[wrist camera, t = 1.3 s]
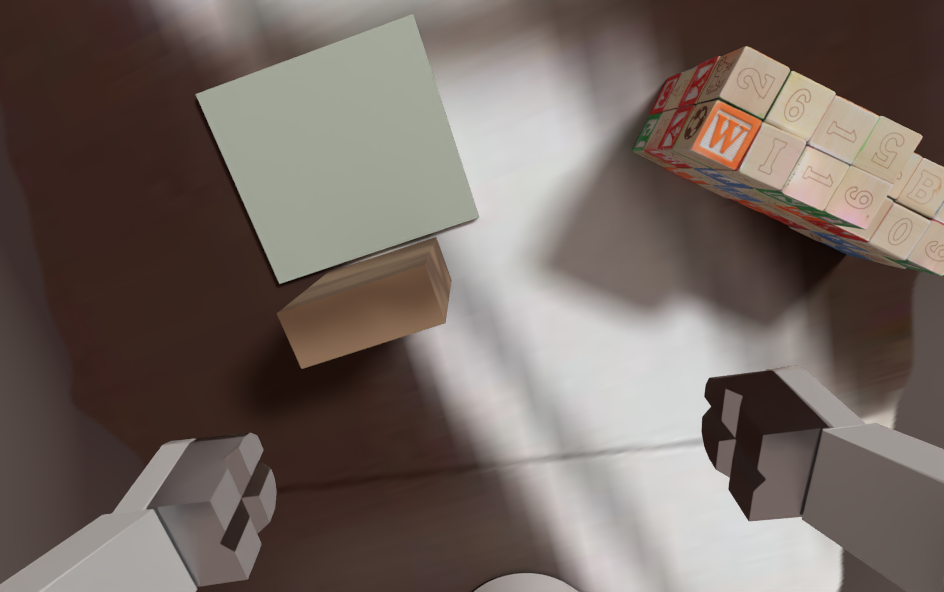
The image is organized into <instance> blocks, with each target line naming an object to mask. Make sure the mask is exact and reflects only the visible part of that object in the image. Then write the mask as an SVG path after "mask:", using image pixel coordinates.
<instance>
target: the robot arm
mask: <svg viewBox="0 0 944 592" xmlns="http://www.w3.org/2000/svg"><path fill="white" fill-rule="evenodd" d="M704 397H705V398H706V400H707V401H708V402H709V404H710V405H711V407H710V409H709V410H708V411H707V412H706V413H705V414H704V415H703V417H702V437H703V442H704V447H705V450H706V452H707V454H708V457H709V459H710V461H711V462H712V464H713V466H714V467H715V469H716V470H718V471H719V472H721V473H723V474H725V475H726V476H728V477H730V481H729V489H728V490H729V491H730V493H731V494H732V496H733V497H734V499H735V500H736V502H737V504H738V505H739V507H740V508H741V510H742V511H743V513H744V514H745V516H746V518H747V519H748V521H759V520H770V519H781V518H793V517H802V520H804V521H805V522H807V523H808V524H810V525H811V526H812V527H814V528H815V529H817V530H818V531H820V532H821V533H823V534H824V535H825V536H827V537H828V538H830V539H831V540H833V541H834V542H836V543H837V544H838V545H840V546H841V547H843V548H844V549H846V550H847V551H849V552H850V553H852V554H853V555H854V556H856V557H857V558H859V559H860V560H862V561H863V562H865V563H866V564H868V565H869V566H870V567H872V568H873V569H875V570H876V571H878V572H879V573H881V574H882V575H883V576H885V577H886V578H888V579H889V580H891V581H892V582H893V583H895V584H896V585H898V586H899V587H901V588H902V589H904V590H905V591H907V592H944V449H941V448H939V447H936V446H934V445H931V444H929V443H926V442H923V441H921V440H918V439H916V438H913V437H911V436H908V435H905V434H903V433H900V432H898V431H895V430H892V429H890V428H887V427H885V426H882V425H880V424H877V423H873V424H865V423H864V422H863V421H862V420H861V419H860V418H859V417H858V416H857V415H855V414H854V413H853V412H852V411H851V410H850V409H849V408H848V407H846V406H845V405H844V404H843V403H842V402H841V401H840V400H839V399H838V398H836V397H835V396H834V395H833V394H832V393H831V392H830V391H829V390H827V389H826V388H825V387H824V386H823V385H822V384H821V383H820V382H819V381H817V380H816V379H815V378H814V377H813V376H812V375H811V374H810V373H808V372H807V371H806V370H805V369H804V368H802V367H799V366H796V365H795V366H788V367H781V368H774V369H767V370H766V371H759V372H751V373H743V374H735V375H727V376H719V377H711V378H709V379H708V381H707V383H706V387H705V396H704ZM262 452H263V448H262V445H261V443H260V441H259V439H258V436H257V435H254V434H252V433H244V434H234V435H224V436H213V437H203V438H197V439H186V440H177V441H170V442H168V443H166V444H164V445H162V446H161V448H160V449H159V450H158V452H157V453H156V454H155V456H154V457H153V458H152V460H151V461H150V463H149V464H148V465H147V467H146V468H145V469H144V471H143V472H142V474H141V475H140V476H139V478H138V479H137V480H136V482H135V483H134V484H133V486H132V487H131V488H130V490H129V491H128V492H127V494H126V495H125V497H124V498H123V499H122V501H121V502H120V503H119V505H118V506H117V508H116V509H115V510H114V512H113V513H112V514H106V515H102V516H100V517H99V518H97V519H96V520H94V521H93V522H91V523H90V524H89V525H87V526H86V527H84V528H83V529H81V530H80V531H79V532H77V533H75V534H74V535H72V536H71V537H69V538H68V539H67V540H65V541H64V542H62V543H61V544H59V545H58V546H56V547H55V548H53V549H52V550H50V551H49V552H47V553H46V554H45V555H43V556H42V557H40V558H38V559H37V560H36V561H34V562H33V563H31V564H30V565H28V566H27V567H25V568H24V569H22V570H21V571H19V572H18V573H16V574H15V575H13V576H12V577H11V578H9V579H8V580H6V581H5V582H3V583H2V584H0V592H196V591H197V587H199V586H206V585H213V584H220V583H226V582H233V581H240V580H247V579H248V577H249V575H250V572H251V570H252V567H253V564H254V562H255V559H256V557H257V554H258V552H259V549H260V546H261V542H260V540H259V537H258V535H257V533H258V532H260V531H261V530H262V529H263V528H264V527H265V526H266V525H267V524H268V523H269V522H270V520H271V517H272V514H273V512H274V509H275V500H276V485H275V479H274V476H273V473H272V471H271V468H269V467H268V466H267V465H265V464H264V463H262V462H261V461H259V458H260V456H261V454H262ZM474 592H579V591H577V590H575V589H574V588H572V587H571V586H569V585H568V584H566V583H564V582H562V581H560V580H558V579H555V578H553V577H550V576H546V575H541V574H533V573H520V574H512V575H507V576H503V577H499V578H497V579H494V580H492V581H489V582H488V583H486V584H484V585H482V586H481V587H479V588H478V589H477V590H475V591H474Z"/></svg>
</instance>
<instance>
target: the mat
mask: <svg viewBox="0 0 944 592" xmlns="http://www.w3.org/2000/svg"><path fill="white" fill-rule="evenodd" d="M196 96H197V99H198V101H199V103H200V105H201V108H202V110H203V112H204V114H205V117H206V119H207V121H208V123H209V126H210V128H211V130H212V133H213V135H214V137H215V139H216V142H217V144H218V146H219V148H220V151H221V153H222V155H223V157H224V160H225V162H226V164H227V166H228V169H229V171H230V173H231V176H232V178H233V180H234V182H235V185H236V187H237V189H238V191H239V194H240V196H241V198H242V200H243V203H244V205H245V207H246V209H247V212H248V214H249V216H250V219H251V221H252V223H253V225H254V228H255V230H256V232H257V234H258V237H259V239H260V241H261V243H262V246H263V248H264V250H265V252H266V255H267V257H268V259H269V262H270V264H271V266H272V268H273V271H274V273H275V275H276V277H277V280H278V282H279V284H281V283H284V282H287V281H290V280H293V279H296V278H299V277H302V276H305V275H308V274H311V273H314V272H317V271H320V270H323V269H326V268H329V267H332V266H335V265H338V264H341V263H344V262H347V261H350V260H353V259H356V258H359V257H362V256H365V255H368V254H371V253H374V252H377V251H380V250H383V249H386V248H389V247H392V246H395V245H398V244H401V243H404V242H407V241H410V240H413V239H416V238H419V237H422V236H425V235H428V234H431V233H434V232H437V231H440V230H443V229H446V228H449V227H452V226H455V225H458V224H461V223H464V222H467V221H470V220H473V219H475V218H478V217H479V215H478V211H477V208H476V205H475V202H474V199H473V196H472V193H471V190H470V187H469V184H468V181H467V178H466V175H465V172H464V169H463V165H462V162H461V159H460V156H459V153H458V150H457V147H456V144H455V141H454V138H453V135H452V132H451V129H450V126H449V122H448V119H447V116H446V113H445V110H444V107H443V104H442V101H441V98H440V95H439V92H438V89H437V86H436V83H435V80H434V76H433V73H432V70H431V67H430V64H429V61H428V58H427V55H426V52H425V49H424V46H423V43H422V40H421V37H420V33H419V30H418V27H417V24H416V21H415V18H414V15H413V14H412V15H409V16H406V17H404V18H401V19H398V20H396V21H393V22H390V23H387V24H385V25H382V26H379V27H377V28H374V29H371V30H369V31H366V32H363V33H360V34H358V35H355V36H352V37H350V38H347V39H344V40H341V41H339V42H336V43H333V44H331V45H328V46H325V47H323V48H320V49H317V50H314V51H312V52H309V53H306V54H304V55H301V56H298V57H295V58H293V59H290V60H287V61H285V62H282V63H279V64H276V65H274V66H271V67H268V68H266V69H263V70H260V71H258V72H255V73H252V74H249V75H247V76H244V77H241V78H239V79H236V80H233V81H230V82H228V83H225V84H222V85H220V86H217V87H214V88H212V89H209V90H206V91H203V92H201V93H198V94H196Z"/></svg>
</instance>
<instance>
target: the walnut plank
mask: <svg viewBox="0 0 944 592" xmlns="http://www.w3.org/2000/svg"><path fill="white" fill-rule="evenodd" d="M450 287H451V278H450V275H449V272H448V269H447V266H446V263H445V261H444V258H443V255H442V252H441V249H440V246H439V243H438V241H437V238H436V237H435V238H432V239H429V240H426V241H423V242H420V243H417V244H414V245H411V246H408V247H404V248H401V249H398V250H395V251H392V252H389V253H386V254H383V255H380V256H377V257H374V258H371V259H368V260H365V261H362V262H359V263H356V264H353V265H350V266H347V267H344V268H341V269H338V270H335V271H332V272H329V273H327V274H326V275H324V276H323V277H322V278H321V279H319V280H318V281H317V282H316V283H314V284H313V285H312V286H311V287H309V288H308V289H307V290H306V291H304V292H303V293H302V294H301V295H299V296H298V297H297V298H296V299H294V300H293V301H292V302H291V303H289V304H288V305H287V306H286V307H284V308H283V309H282V310H281V311H279V312H278V313H277V315H278V318H279V320H280V322H281V324H282V327H283V329H284V331H285V333H286V335H287V338H288V340H289V342H290V344H291V347H292V349H293V351H294V353H295V355H296V358H297V360H298V362H299V364H300V367H301V369H303V368H306V367H309V366H312V365H316V364H319V363H322V362H325V361H328V360H331V359H334V358H337V357H341V356H344V355H347V354H350V353H353V352H356V351H359V350H363V349H366V348H369V347H372V346H375V345H378V344H381V343H384V342H388V341H391V340H394V339H397V338H400V337H403V336H406V335H410V334H413V333H416V332H419V331H422V330H425V329H428V328H431V327H435V326H438V325H441V324H444V323H445V322H446V315H447V308H448V301H449V294H450Z"/></svg>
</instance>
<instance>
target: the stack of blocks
mask: <svg viewBox="0 0 944 592" xmlns="http://www.w3.org/2000/svg"><path fill="white" fill-rule="evenodd" d="M922 138H923V137H922V135H920V134H918V133H916V132H914V131H912V130H910V129H908V128H906V127H903V126H901V125H899V124H897V123H895V122H893V121H891V120H889V119H887V118H885V117H883V116H878V115H876V114H874V113H872V112H870V111H868V110H866V109H864V108H862V107H860V106H858V105H856V104H854V103H852V102H850V101H848V100H846V99H844V98H842V97H839V96H836V94H835V92H834V91H832V90H830V89H828V88H826V87H824V86H822V85H820V84H818V83H816V82H814V81H812V80H810V79H808V78H806V77H804V76H802V75H800V74H798V73H796V72H794V71H790V69H789V68H788V67H787V66H785V65H783V64H781V63H779V62H777V61H775V60H773V59H771V58H770V57H768V56H766V55H764V54H762V53H760V52H758V51H756V50H754V49H752V48H750V47H747V46H746V47H742V48H740V49H737V50H735V51H733V52H731V53H728V54H726V55H724V56H722V57H720V56H717V57H715V58H712V59H710V60H708V61H705V62H703V63H701V64H699V65H698V66H696V67H694V68H692V69H690V70H687V71H685V72H682V73H679V74H676V75H674V76H672V77H669V78H668V79H667V80H666V83H665V85H664V87H663V89H662V90H661V92H660V94H659V96H658V98H657V100H656V103H655V104H654V106H653V109H652V110H651V112H650V116H649V118H648V120H647V122H646V124H645V126H644V128H643V130H642V131H641V133H640V135H639V137H638V139H637V141H636V143H635V145H634V147H633V149H632V152H634V153H636V154H638V155H640V156H642V157H644V158H646V159H648V160H650V161H652V162H654V163H656V164H658V165H660V166H663V168H664V169H666V170H668V171H671V172H673V173H675V174H677V175H679V176H681V177H683V178H685V179H687V180H689V181H691V182H693V183H696V184H697V185H699V186H701V187H703V188H705V189H707V190H709V191H712V192H714V193H716V194H718V195H720V196H722V197H724V198H730V199H732V200H734V201H736V202H738V203H740V204H742V205H744V206H747V207H749V208H751V209H753V210H755V211H758V212H761V213H763V214H765V215H767V216H769V217H771V218H773V219H776V220H778V221H780V222H782V223H784V224H786V225H788V226H789V228H791V229H793V230H795V231H797V232H799V233H801V234H803V235H805V236H807V237H810V238H812V239H814V240H816V241H818V242H821V243H823V244H825V245H828V246H830V247H832V248H834V249H836V250H838V251H840V252H842V253H845V254H847V255H850V256H855V257H859V258H863V259H867V260H871V261H875V262H878V263H882V264H886V265H890V266H894V267H898V268H903V269H905V268H910V269H914V270H918V271H922V272H926V273H930V274H934V275H938V276H943V275H944V167H942V166H940V165H938V164H935V163H933V162H931V161H929V160H927V159H925V158H922V157H921V156H920V155H918V154H916V153H914V150H915V149H916V147H917V146H918V144H919V143H920V141H921V139H922Z"/></svg>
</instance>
